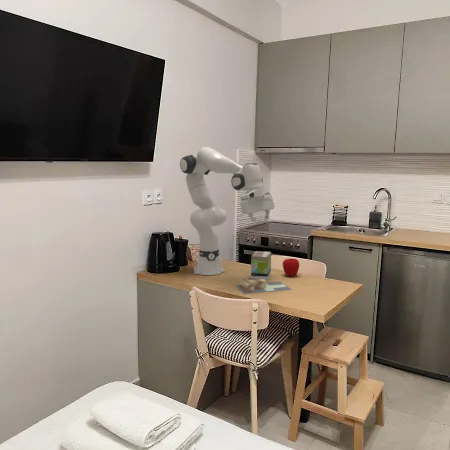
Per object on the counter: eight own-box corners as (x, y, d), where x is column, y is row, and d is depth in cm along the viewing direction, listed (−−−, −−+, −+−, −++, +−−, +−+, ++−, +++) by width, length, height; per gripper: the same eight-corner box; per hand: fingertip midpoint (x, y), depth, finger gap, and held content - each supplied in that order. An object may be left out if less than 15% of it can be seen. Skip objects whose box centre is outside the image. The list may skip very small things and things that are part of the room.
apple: (294, 273, 252) (294, 255, 251) (302, 277, 243) (302, 258, 242) (279, 274, 249) (279, 256, 248) (286, 278, 240) (287, 260, 239)
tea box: (268, 282, 232) (268, 256, 230) (250, 282, 234) (250, 256, 232) (271, 275, 247) (271, 251, 245) (254, 275, 249) (254, 250, 247)
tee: (246, 292, 212) (246, 284, 211) (239, 286, 223) (239, 278, 223) (268, 290, 215) (268, 283, 215) (260, 284, 227) (260, 277, 226)
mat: (234, 286, 225) (234, 285, 225) (279, 282, 232) (279, 281, 232) (244, 295, 210) (244, 294, 209) (292, 291, 216) (292, 289, 216)
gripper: (266, 192, 225) (270, 218, 225) (237, 196, 212) (241, 223, 213) (274, 191, 220) (279, 217, 220) (245, 195, 207) (249, 222, 208)
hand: (260, 220), depth 216 cm, fingers open, 8 cm apart
